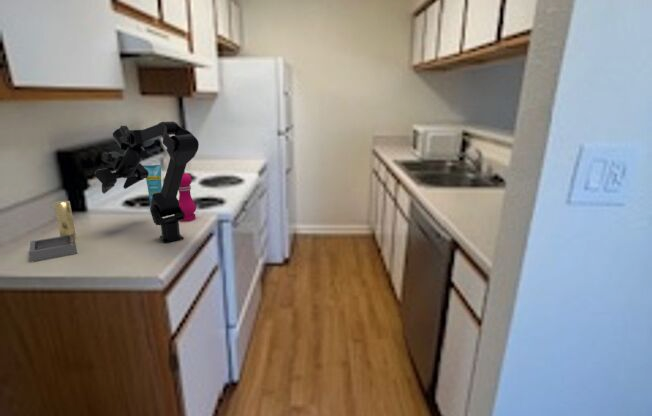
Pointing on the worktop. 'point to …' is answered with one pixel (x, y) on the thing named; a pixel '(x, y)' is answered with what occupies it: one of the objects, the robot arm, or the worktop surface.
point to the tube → (153, 179)
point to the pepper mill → (186, 198)
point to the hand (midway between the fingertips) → (114, 190)
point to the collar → (52, 247)
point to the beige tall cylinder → (64, 218)
